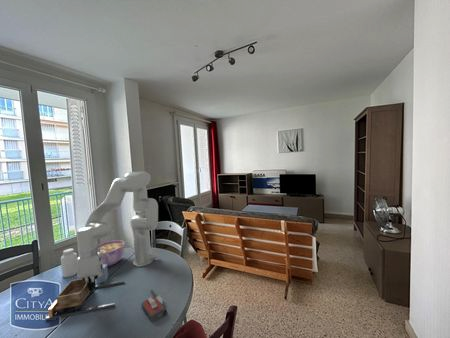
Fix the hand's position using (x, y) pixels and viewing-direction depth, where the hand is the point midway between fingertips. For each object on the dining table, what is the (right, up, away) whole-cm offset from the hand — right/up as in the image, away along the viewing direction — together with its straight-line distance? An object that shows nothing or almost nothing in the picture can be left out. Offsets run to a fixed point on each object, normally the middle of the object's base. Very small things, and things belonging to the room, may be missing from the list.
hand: (91, 288), depth 99 cm
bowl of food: (-11, -4, +35) cm, 37 cm away
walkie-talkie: (+33, -4, -7) cm, 34 cm away
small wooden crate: (-6, -6, -1) cm, 9 cm away
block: (-4, -4, +16) cm, 17 cm away
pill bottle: (-29, -5, +24) cm, 38 cm away
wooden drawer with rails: (-1, -5, 0) cm, 5 cm away
